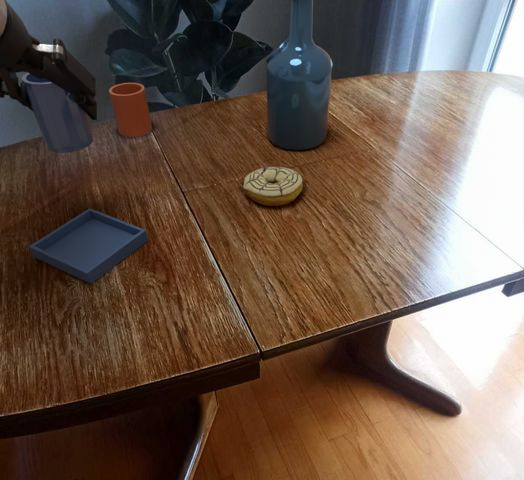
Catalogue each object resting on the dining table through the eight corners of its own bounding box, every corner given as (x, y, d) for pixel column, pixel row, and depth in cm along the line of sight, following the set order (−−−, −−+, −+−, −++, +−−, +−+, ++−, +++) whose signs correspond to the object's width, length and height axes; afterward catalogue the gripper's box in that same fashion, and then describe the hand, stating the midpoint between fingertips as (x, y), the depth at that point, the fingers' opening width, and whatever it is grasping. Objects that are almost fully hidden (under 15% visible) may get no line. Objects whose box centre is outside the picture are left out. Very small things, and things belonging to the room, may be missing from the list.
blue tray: (33, 257, 76) (28, 246, 74) (93, 218, 83) (89, 208, 81) (90, 284, 71) (86, 273, 69) (148, 240, 78) (146, 229, 76)
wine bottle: (335, 132, 105) (352, -39, 82) (312, 157, 97) (324, -25, 75) (281, 122, 109) (283, -43, 87) (255, 145, 101) (249, -31, 79)
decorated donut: (262, 176, 92) (261, 157, 89) (310, 188, 88) (312, 169, 86) (234, 200, 86) (233, 181, 83) (285, 215, 82) (286, 195, 80)
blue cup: (37, 146, 75) (10, 78, 68) (71, 129, 79) (50, 63, 72) (68, 156, 72) (45, 87, 65) (102, 138, 77) (84, 71, 69)
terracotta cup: (113, 139, 105) (101, 91, 97) (136, 127, 109) (126, 80, 101) (138, 146, 102) (127, 98, 94) (160, 134, 106) (151, 86, 99)
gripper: (-108, 54, 53) (9, 135, 76) (66, 51, 53) (131, 134, 75) (-110, -14, 53) (8, 88, 76) (65, -17, 52) (131, 87, 75)
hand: (69, 111), depth 75 cm, fingers closed on blue cup, 7 cm apart
